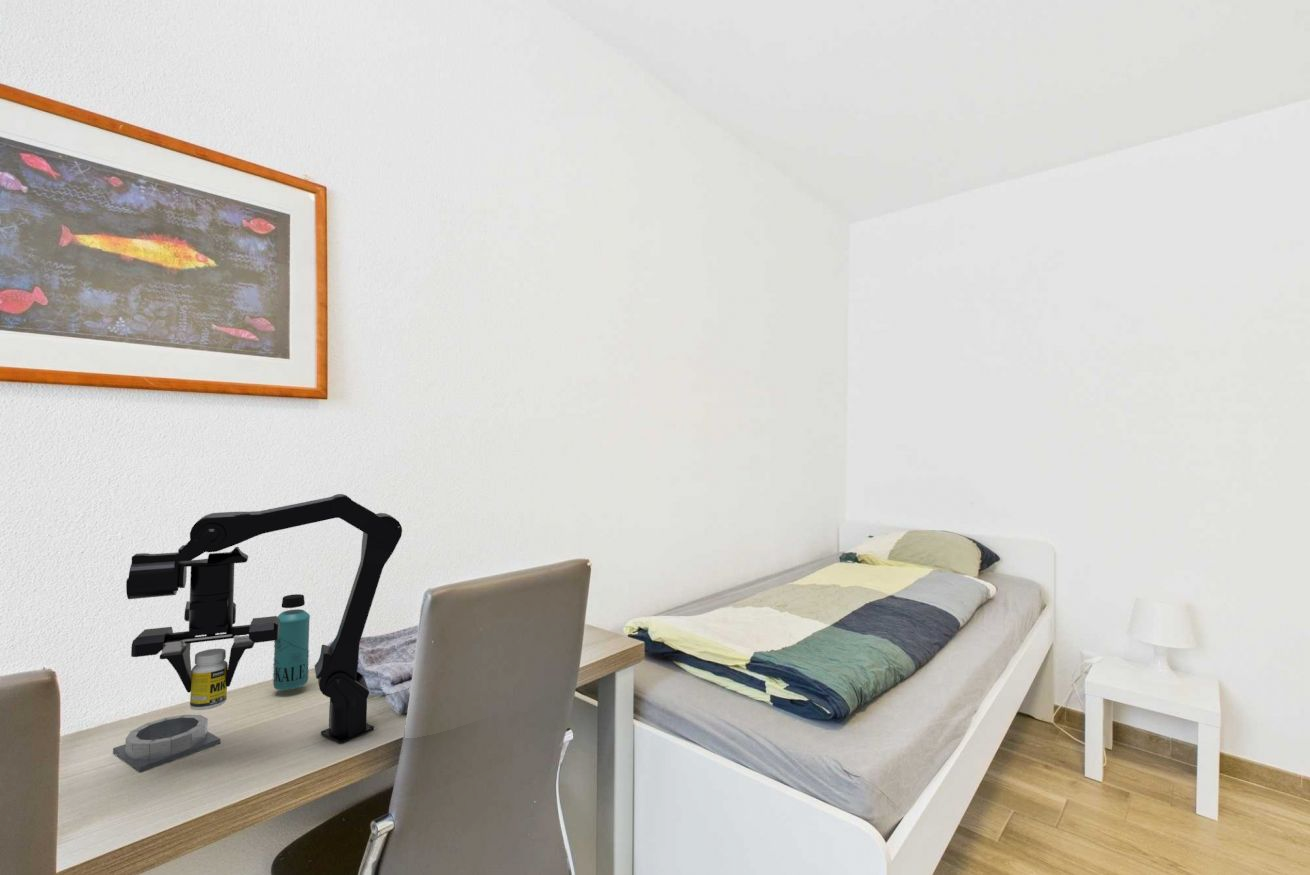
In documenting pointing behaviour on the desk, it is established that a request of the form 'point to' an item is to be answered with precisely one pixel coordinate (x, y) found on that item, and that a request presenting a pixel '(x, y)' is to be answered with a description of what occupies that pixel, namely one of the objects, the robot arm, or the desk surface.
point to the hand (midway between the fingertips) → (209, 688)
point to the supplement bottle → (209, 680)
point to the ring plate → (165, 741)
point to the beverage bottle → (292, 645)
